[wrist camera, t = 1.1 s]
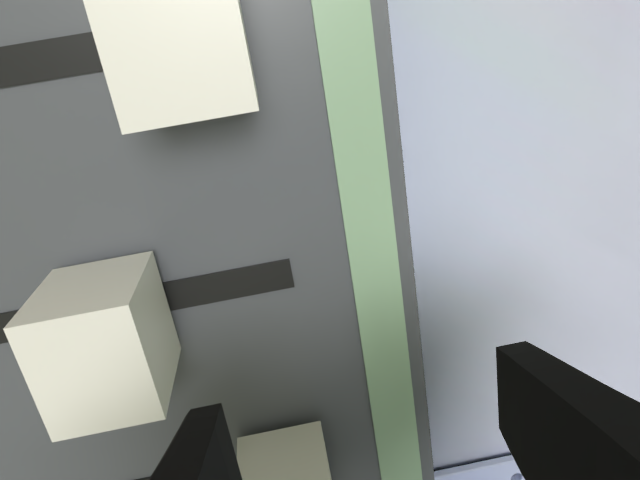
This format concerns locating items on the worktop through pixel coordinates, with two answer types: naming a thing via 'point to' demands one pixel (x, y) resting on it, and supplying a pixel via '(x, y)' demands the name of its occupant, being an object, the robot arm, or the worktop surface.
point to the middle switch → (97, 346)
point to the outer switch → (173, 60)
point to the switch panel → (225, 237)
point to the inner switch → (284, 454)
